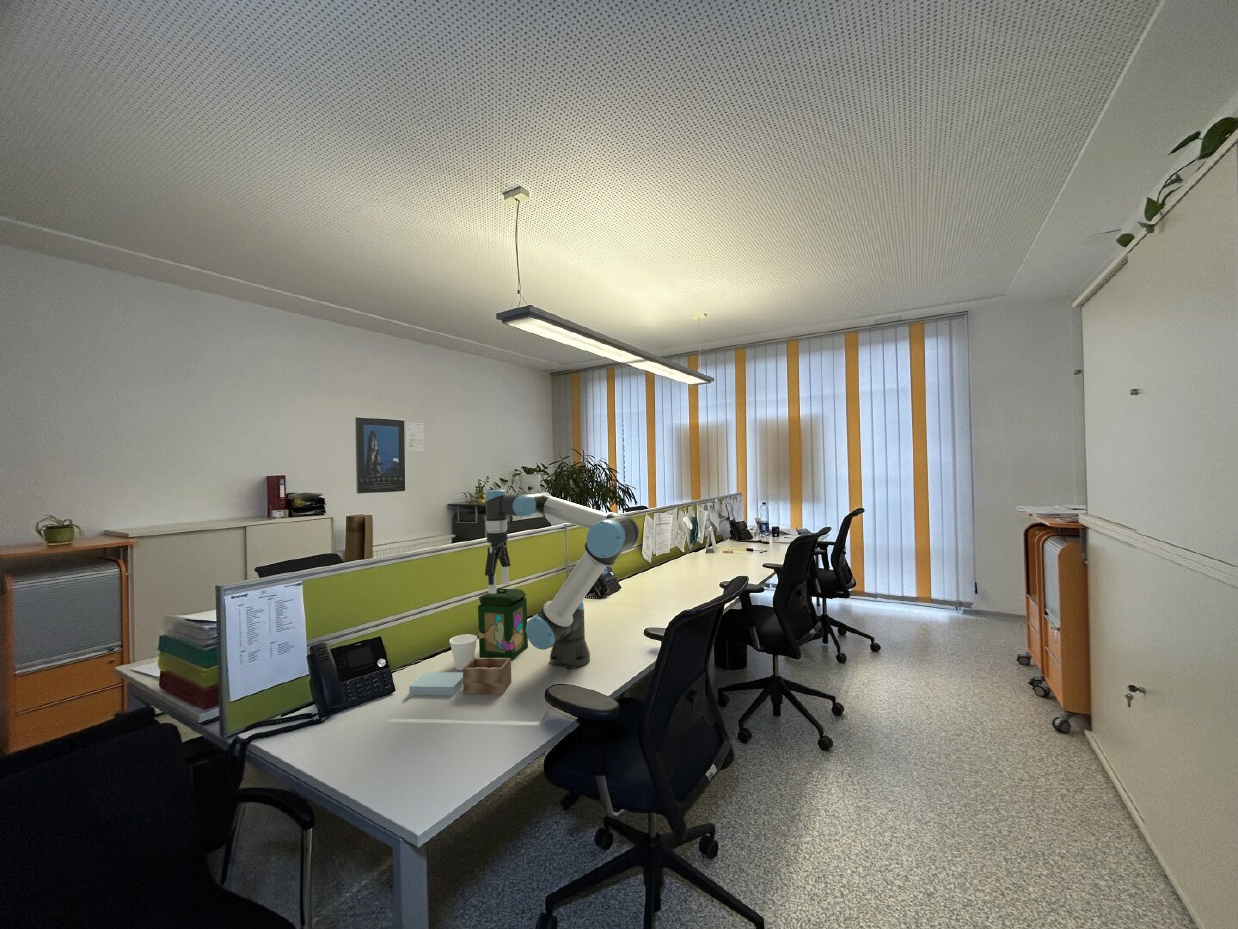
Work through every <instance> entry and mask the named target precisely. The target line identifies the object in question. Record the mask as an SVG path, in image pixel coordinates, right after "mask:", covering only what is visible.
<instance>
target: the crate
mask: <svg viewBox="0 0 1238 929" xmlns="http://www.w3.org/2000/svg"><path fill="white" fill-rule="evenodd" d="M476 667H487V668H476ZM492 667H497V668H492ZM462 672H463V686H462V687H463V695H484V696H485V695H486V696H487V695H489V696H490V695H496V696H503V695H504V694H505V692H506V691H507V690H508V688H509V686H510V685H511V684H512V683H513V682H512V661H511V658H480V657H474V658H473V659H472V660H471V661H470V662H469V663H468V664H467V665H466V666H465V667H464V668H463V670H462Z"/></svg>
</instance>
